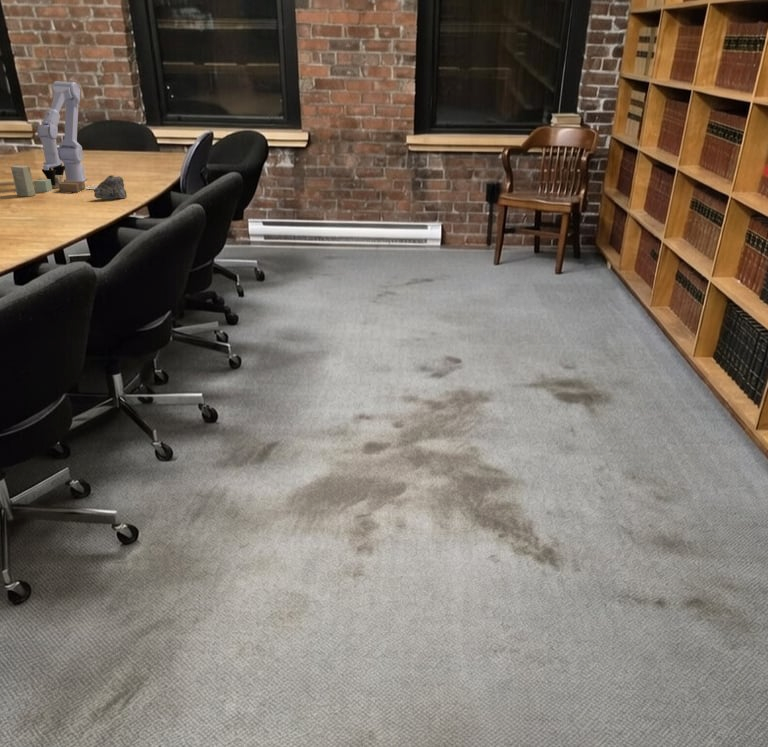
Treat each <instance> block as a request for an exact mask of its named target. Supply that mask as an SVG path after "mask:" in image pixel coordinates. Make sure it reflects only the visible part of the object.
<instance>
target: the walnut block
mask: <svg viewBox="0 0 768 747" xmlns="http://www.w3.org/2000/svg"><path fill="white" fill-rule="evenodd" d="M65 180H66V179H65ZM65 180H64V182H61V183H59V188H58V189H59V192H60V193H67V192H76V193H75V194H79V193H81V192H83V191H82V190H84V189H85V187H86V185H85V181H70V180H66V181H65ZM80 191H81V192H80ZM84 191H85V190H84ZM78 192H79V193H78Z"/></svg>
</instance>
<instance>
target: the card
mask: <svg viewBox="0 0 768 747" xmlns="http://www.w3.org/2000/svg"><path fill="white" fill-rule="evenodd" d="M94 185H95V184H92V186H89V185H87V186H88V187H87V186H85V189H86V190H87V189H92V188H94V189H95V188H97V187H98V186H94Z"/></svg>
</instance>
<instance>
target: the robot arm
mask: <svg viewBox="0 0 768 747" xmlns="http://www.w3.org/2000/svg"><path fill="white" fill-rule="evenodd" d="M52 92H53V99H52V102H51V106H50V108H49V109H47V110H46V112H45V115H44V117H43V119H42V123H41V124H39V125H38V127H37V131H36V134H37V135H38V137H39V139H40V142H41V144H42V148H43V149H42V150H43V155H44V160H45V162H43V163H42V164H43V165H42V169H41V171H42V173H43V175H44V176H45V179H51V185H52V186H55V175H63V176H64V174H65V179H64V181H66V180H70V181H84V182H85V181H87V180H86V179H87V178H86V172H85V167H84V164H83V163H82V162H83V161H82V160H83V158H84V152H83V146H82V145H81V144H80V143H79V142H78V139H77V138H78V124H79V123H78V120H79V119H78V118H79V104H80V102H81V89H80V86H79V84H78V83H77V82H76V81H61V80H60V81H58V80H55V81H54V82H53V84H52ZM64 104H65V116H64V118H65V119H64V120H65V121H64V135H63V136H64V139H63V140H61V142H60V143H59V144H57V138H58V134H59V132H58V131H59V130H58V129H59V128H58V126H59V123H60V122H59V121H60V119H61V115H60V111H61V110H62V106H63V105H64Z"/></svg>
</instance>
